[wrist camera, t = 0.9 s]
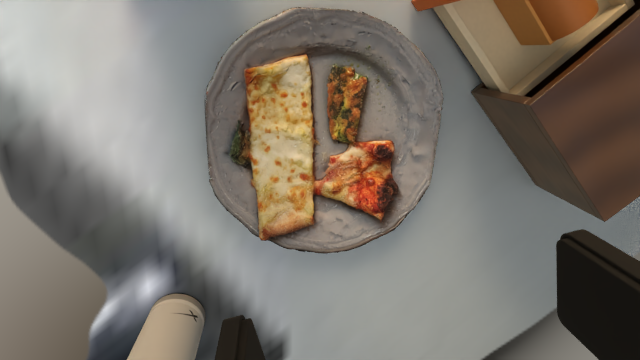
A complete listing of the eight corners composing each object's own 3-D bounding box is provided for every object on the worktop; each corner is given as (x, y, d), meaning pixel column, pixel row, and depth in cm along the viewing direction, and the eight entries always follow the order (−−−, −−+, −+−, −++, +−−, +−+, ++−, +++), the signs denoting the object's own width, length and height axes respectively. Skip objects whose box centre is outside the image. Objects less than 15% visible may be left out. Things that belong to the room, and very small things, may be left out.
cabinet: (470, 92, 41) (529, 105, 31) (604, -22, 38) (712, -45, 29) (535, 185, 45) (604, 222, 36) (659, 89, 43) (768, 100, 33)
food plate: (414, 244, 46) (425, 259, 43) (215, 245, 43) (210, 262, 40) (447, 18, 38) (463, 15, 35) (204, 3, 35) (197, -2, 32)
